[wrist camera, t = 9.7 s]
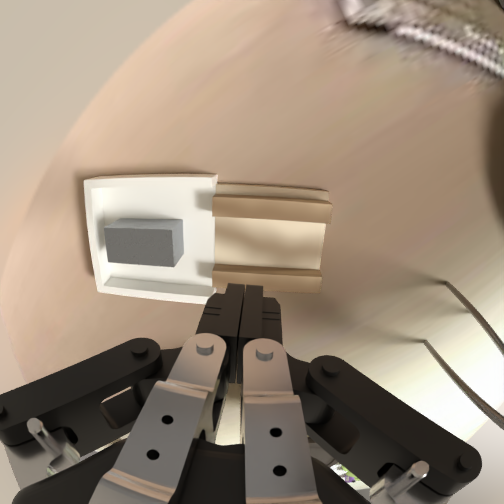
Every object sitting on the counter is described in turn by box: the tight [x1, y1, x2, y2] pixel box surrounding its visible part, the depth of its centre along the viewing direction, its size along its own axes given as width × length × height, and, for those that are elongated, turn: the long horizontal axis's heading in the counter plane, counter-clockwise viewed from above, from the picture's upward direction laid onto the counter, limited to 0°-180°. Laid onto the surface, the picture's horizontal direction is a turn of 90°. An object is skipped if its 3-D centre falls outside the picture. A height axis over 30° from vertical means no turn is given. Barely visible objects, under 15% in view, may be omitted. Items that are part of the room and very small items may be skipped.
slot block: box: [212, 183, 333, 293], centre depth 30 cm, size 12×12×3 cm
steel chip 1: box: [104, 218, 149, 265], centre depth 29 cm, size 4×4×4 cm
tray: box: [84, 174, 218, 304], centre depth 31 cm, size 14×15×3 cm
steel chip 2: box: [136, 219, 184, 267], centre depth 29 cm, size 4×4×4 cm
